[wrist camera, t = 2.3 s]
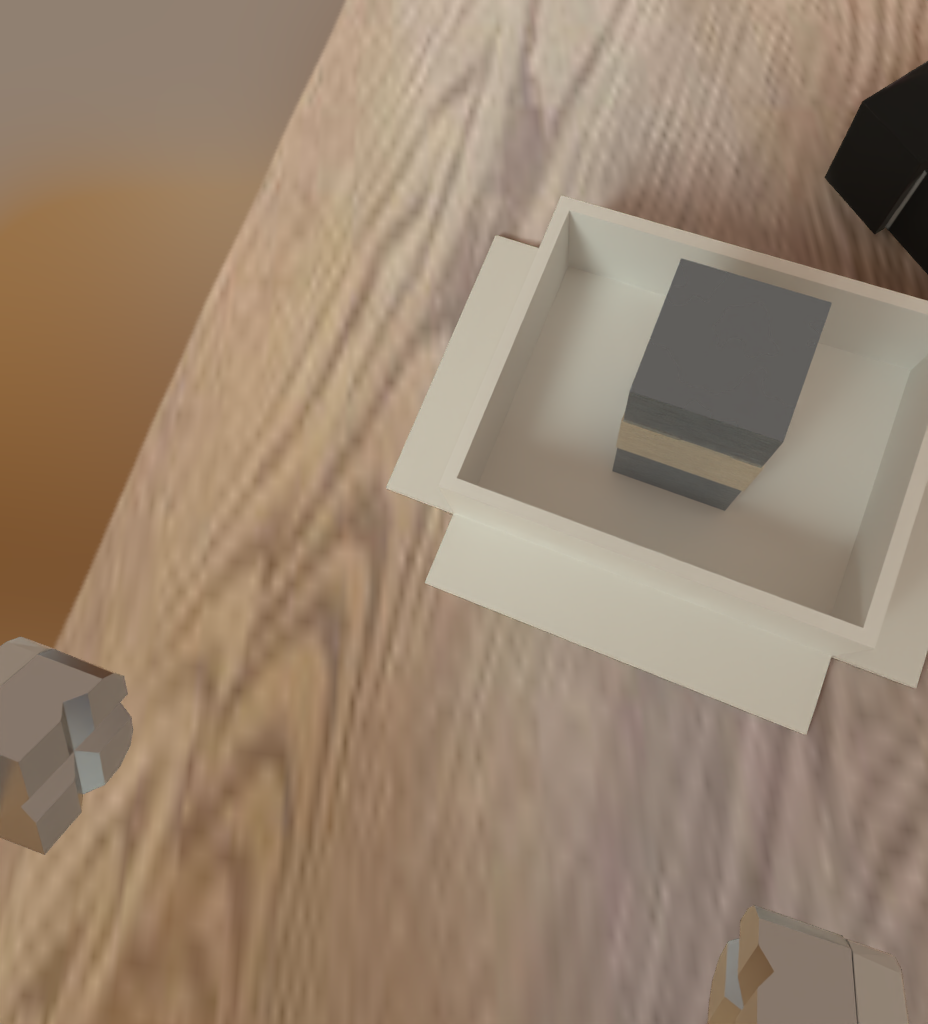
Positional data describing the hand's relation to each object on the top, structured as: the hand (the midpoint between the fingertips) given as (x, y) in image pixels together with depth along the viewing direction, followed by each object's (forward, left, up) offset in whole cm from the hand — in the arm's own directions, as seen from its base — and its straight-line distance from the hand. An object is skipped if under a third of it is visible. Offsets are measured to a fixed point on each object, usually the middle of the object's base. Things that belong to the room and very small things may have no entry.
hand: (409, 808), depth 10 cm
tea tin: (+11, +7, -21) cm, 25 cm away
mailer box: (+10, +6, -21) cm, 24 cm away
